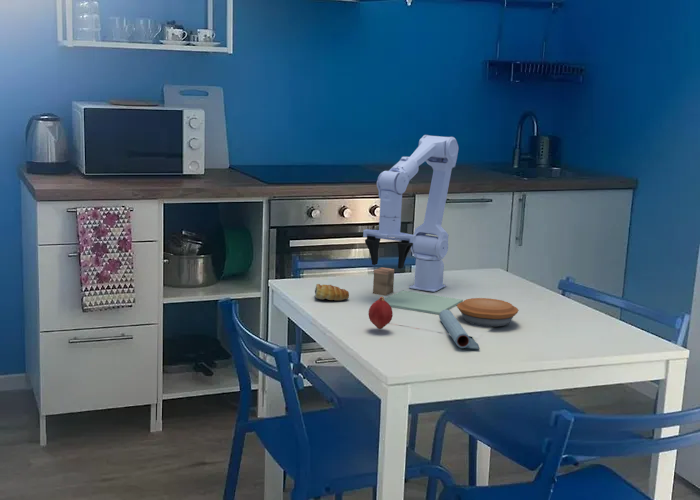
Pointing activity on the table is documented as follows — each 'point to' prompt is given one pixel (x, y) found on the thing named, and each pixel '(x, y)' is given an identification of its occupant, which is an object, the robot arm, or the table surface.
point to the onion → (380, 313)
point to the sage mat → (421, 302)
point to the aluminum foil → (457, 330)
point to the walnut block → (383, 281)
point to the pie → (487, 311)
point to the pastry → (330, 292)
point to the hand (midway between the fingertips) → (387, 266)
